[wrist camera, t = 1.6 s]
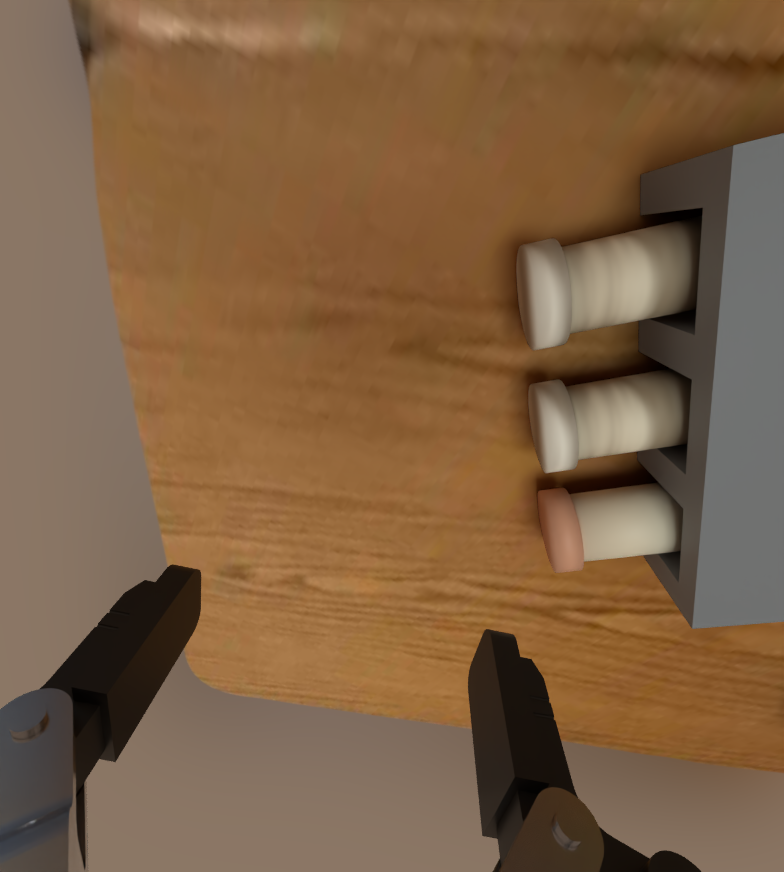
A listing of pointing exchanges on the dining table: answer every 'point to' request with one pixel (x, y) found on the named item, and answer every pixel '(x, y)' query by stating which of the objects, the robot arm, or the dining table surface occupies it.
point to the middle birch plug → (608, 417)
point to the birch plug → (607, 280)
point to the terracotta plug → (608, 524)
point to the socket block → (726, 387)
